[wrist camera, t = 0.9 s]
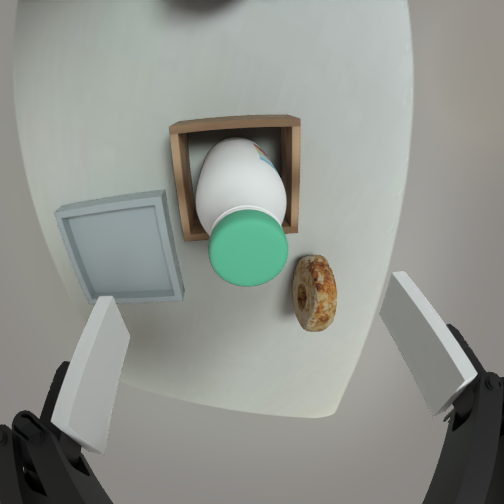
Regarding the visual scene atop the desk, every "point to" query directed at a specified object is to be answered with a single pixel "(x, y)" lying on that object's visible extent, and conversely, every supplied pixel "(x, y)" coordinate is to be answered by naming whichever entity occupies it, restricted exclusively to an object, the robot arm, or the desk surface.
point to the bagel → (314, 293)
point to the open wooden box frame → (179, 130)
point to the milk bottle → (242, 212)
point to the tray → (123, 248)
